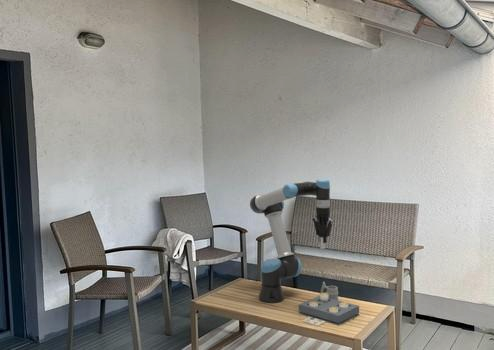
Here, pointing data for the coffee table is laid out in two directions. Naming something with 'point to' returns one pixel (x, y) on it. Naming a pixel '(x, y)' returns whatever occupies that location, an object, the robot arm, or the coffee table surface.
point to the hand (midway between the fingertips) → (322, 248)
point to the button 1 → (313, 304)
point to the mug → (330, 291)
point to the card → (314, 321)
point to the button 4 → (343, 304)
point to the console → (323, 310)
